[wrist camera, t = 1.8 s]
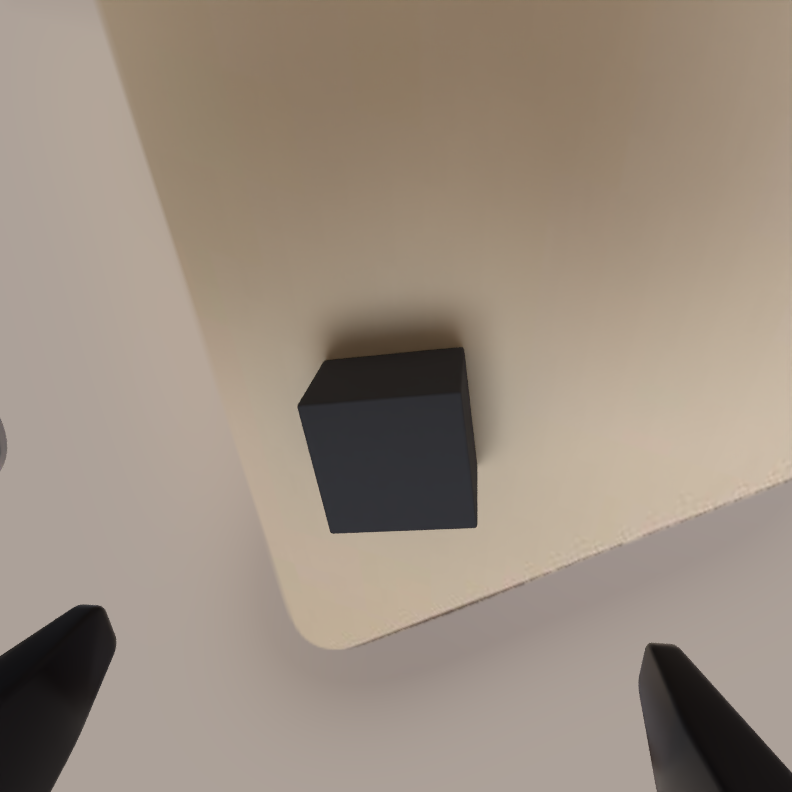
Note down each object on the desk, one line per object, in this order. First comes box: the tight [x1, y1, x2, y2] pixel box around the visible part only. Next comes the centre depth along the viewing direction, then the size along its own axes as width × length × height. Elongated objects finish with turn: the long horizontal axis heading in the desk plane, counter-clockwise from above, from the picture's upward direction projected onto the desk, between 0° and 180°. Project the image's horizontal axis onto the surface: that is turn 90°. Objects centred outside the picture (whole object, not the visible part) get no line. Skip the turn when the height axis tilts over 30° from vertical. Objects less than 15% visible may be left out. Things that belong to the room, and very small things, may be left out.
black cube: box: [298, 347, 477, 534], centre depth 19 cm, size 5×5×4 cm
